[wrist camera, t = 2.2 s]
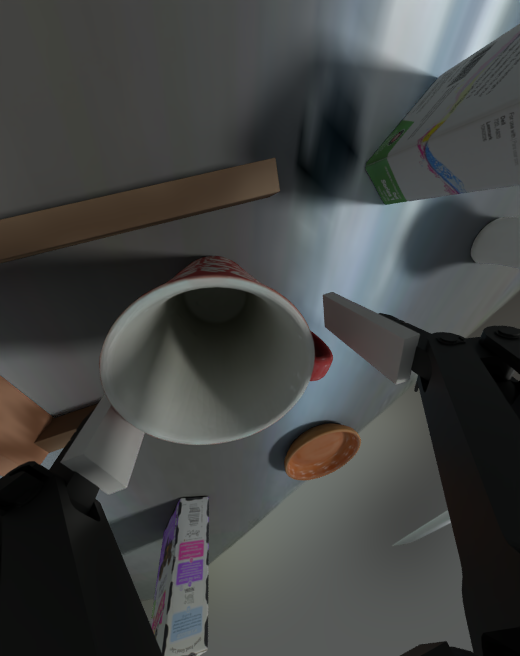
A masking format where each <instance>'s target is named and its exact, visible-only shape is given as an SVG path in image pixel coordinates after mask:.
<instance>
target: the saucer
mask: <svg viewBox="0 0 520 656" xmlns="http://www.w3.org/2000/svg"><path fill="white" fill-rule="evenodd" d="M360 444H361V439H360V436H359V435H358V433H357V432H356V431H355V430H354V429H352V428H350V427H348V426H344V425H339V424H333V423H329V424H322V425H319V426H316V427H313V428H311V429H309V430H307V431H306V432H304V433H302V434H301V435H300V436H299V437H298V438H297V439H295V441H294V442H293V443H292V445H291V446H290V448H289V450H288V452H287V455H286V457H285V461H284V465H285V471H286V473H287V475H288V476H289V477H291V478H293V479H296V480H311V479H315V478H319V477H322V476H325V475H327V474H329V473H332V472H334V471H336V470H337V469H339V468H340V467H342V466H343V465H345V464H346V463H347V462H348V461H349V460H350V459H352V458H353V456H354V455H355V454H356V453H357V451H358V450H359V448H360Z"/></svg>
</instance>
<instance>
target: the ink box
mask: <svg viewBox="0 0 520 656" xmlns="http://www.w3.org/2000/svg"><path fill="white" fill-rule="evenodd" d="M365 168H366V170H367V172H368V174H369V176H370V178H371V180H372V182H373V184H374V186H375V188H376V189H377V191H378V193H379V195H380V197H381V199H382V200H383V202H384V204H386V205H387V204H394V203H400V202H407V201H414V200H421V199H428V198H435V197H441V196H448V195H454V194H461V193H468V192H475V191H482V190H489V189H496V188H503V187H510V186H517V185H520V24H519V25H517V26H516V27H514V28H513V29H511V30H509V31H508V32H506V33H505V34H503V35H502V36H500V37H499V38H497V39H496V40H494V41H493V42H491V43H490V44H488V45H486V46H485V47H483V48H482V49H480V50H479V51H477V52H476V53H474V54H473V55H471V56H470V57H468V58H467V59H465V60H463V61H462V62H460V63H459V64H457V65H456V66H454V67H453V68H451V69H450V70H448V71H447V72H445V73H444V74H442V75H441V76H440V77H438V79H437V80H436V81H435V82H434V83H433V85H432V86H431V87H430V88H429V89H428V90H427V92H426V93H425V94H424V95H423V96H422V98H421V99H420V100H419V101H418V102H417V103H416V105H415V106H414V107H413V108H412V109H411V111H410V112H409V113H408V114H407V115H406V116H405V118H404V119H403V120H402V121H401V122H400V124H399V125H398V126H397V127H396V128H395V130H394V131H393V132H392V133H391V134H390V136H389V137H388V138H387V139H386V140H385V141H384V143H383V144H382V145H381V146H380V147H379V149H378V150H377V151H376V152H375V153H374V155H373V156H372V157H371V158H370V159H369V161H368V162H367V163H366V167H365Z"/></svg>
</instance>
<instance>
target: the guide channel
mask: <svg viewBox="0 0 520 656" xmlns="http://www.w3.org/2000/svg"><path fill="white" fill-rule="evenodd" d="M279 191H280V188H279V181H278V173H277V166H276V158H271V159H267V160H263V161H258V162H254V163H249V164H245V165H240V166H236V167H232V168H227V169H223V170H218V171H214V172H209V173H205V174H201V175H196V176H192V177H187V178H183V179H179V180H174V181H170V182H165V183H161V184H156V185H152V186H148V187H143V188H139V189H134V190H130V191H125V192H121V193H117V194H112V195H108V196H103V197H99V198H94V199H90V200H86V201H81V202H77V203H72V204H68V205H63V206H59V207H55V208H50V209H46V210H41V211H37V212H32V213H28V214H24V215H19V216H15V217H10V218H6V219H2V220H0V263H4V262H8V261H12V260H16V259H20V258H24V257H28V256H32V255H36V254H40V253H44V252H48V251H52V250H56V249H61V248H65V247H69V246H73V245H77V244H81V243H85V242H89V241H93V240H97V239H101V238H105V237H109V236H113V235H117V234H121V233H125V232H129V231H133V230H137V229H142V228H146V227H150V226H154V225H158V224H162V223H166V222H170V221H174V220H178V219H182V218H186V217H190V216H194V215H198V214H202V213H206V212H210V211H214V210H219V209H223V208H227V207H231V206H235V205H239V204H243V203H247V202H251V201H255V200H259V199H263V198H267V197H270V196H272V195H274V194H276V193H278V192H279ZM97 405H98V404H95V405H92V406H89V407H86V408H83V409H80V410H77V411H74V412H71V413H68V414H65V415H62V416H59V417H56V418H54V417H52V416H51V415H50V414H48V413H47V412H46V411H45V410H43V409H42V408H41V407H40V406H38V405H37V404H36V403H34V402H33V401H32V400H31V399H29V398H28V397H27V396H26V395H24V394H23V393H22V392H20V391H19V390H18V389H17V388H15V387H14V386H13V385H12V384H10V383H9V382H8V381H7V380H5V379H4V378H3V377H1V376H0V475H1V476H5V475H6V474H7V473H8V472H10V471H11V470H13V469H14V468H16V467H18V466H19V465H21V464H24V463H26V462H28V461H35V462H37V463H38V464H41V463H42V461H43V460H44V459H45V457H46V456H47V454H48V453H50V452H53V451H55V450H58V449H61V448H64V447H65V446H66V444H67V443H68V441H70V440H71V439H70V438H71V437H72V435H73V434H74V432H76V429H77V428H78V427H79V425H80V424H81V422H82V421H83V419H84V418H85V417H86V416H87V415H88V414H89V413H90V412H91V411H92V410H94V409H95V408H96V406H97Z"/></svg>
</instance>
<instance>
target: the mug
mask: <svg viewBox="0 0 520 656" xmlns="http://www.w3.org/2000/svg"><path fill="white" fill-rule="evenodd" d="M332 360H333V355H332V352H331V350H330V349H329V347H328V346H327V345H326V344H325V343H324V342H323V341H322V340H321V339H320V338H319V337H318V336H317V335H315V334H314V333H313V332H311V331H310V329H309V327H308V325H307V323H306V321H305V319H304V317H303V316H302V314H301V313H300V312H299V311H298V310H297V308H296V307H295V306H294V305H293V304H292V303H291V302H290V301H289V300H288V299H287V298H285V297H284V296H282V295H281V294H280V293H278V292H277V291H275V290H273V289H271V288H269V287H267V286H265V285H263V284H261V283H260V282H258V281H257V280H256V279H254V278H253V277H252V276H251V275H249V274H248V273H247V272H246V271H244V270H243V269H242V268H241V267H240V266H239V265H238V264H236V263H235V262H233V261H231V260H229V259H227V258H224V257H219V256H207V257H202V258H200V259H197V260H195V261H194V262H192V263H191V264H189V265H188V266H187V267H186V268H184V269H183V270H182V271H180V272H179V273H178V274H177V275H176V276H175V277H174V278H172V279H171V280H169V281H168V282H167V283H165V284H162V285H160V286H158V287H156V288H154V289H152V290H150V291H149V292H147V293H145V294H144V295H142V296H141V297H139V298H138V299H137V300H136V301H134V302H133V303H132V304H130V305H129V306H128V307H127V308H126V309H125V310H124V311H123V312H122V313H121V315H120V316H119V317H118V318H117V319H116V321H115V322H114V324H113V325H112V327H111V328H110V330H109V332H108V334H107V336H106V339H105V341H104V344H103V347H102V351H101V354H100V360H99V368H100V379H101V383H102V386H103V390H104V392H105V395H106V397H107V399H108V400H109V402H110V403H111V405H112V406H113V408H114V409H115V410H116V411H117V413H118V414H119V415H120V416H121V417H122V418H123V419H125V420H126V421H127V422H128V423H130V424H131V425H132V426H134V427H135V428H137V429H139V430H141V431H143V432H144V433H146V434H149V435H151V436H153V437H156V438H159V439H162V440H166V441H170V442H175V443H180V444H190V445H205V444H218V443H224V442H229V441H234V440H238V439H241V438H244V437H247V436H250V435H253V434H255V433H257V432H259V431H261V430H264V429H265V428H267V427H269V426H270V425H272V424H274V423H275V422H276V421H278V420H279V419H281V418H282V417H283V416H284V415H285V414H286V413H287V412H288V411H289V410H290V409H291V408H292V407H293V406H294V405H295V404H296V403H297V402H298V400H299V399H300V398H301V396H302V395H303V393H304V391H305V389H306V387H307V385H308V383H309V381H316V380H319V379H321V378H323V377H324V376H325V374H326V373H327V371H328V370H329V367H330V365H331V363H332Z"/></svg>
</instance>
